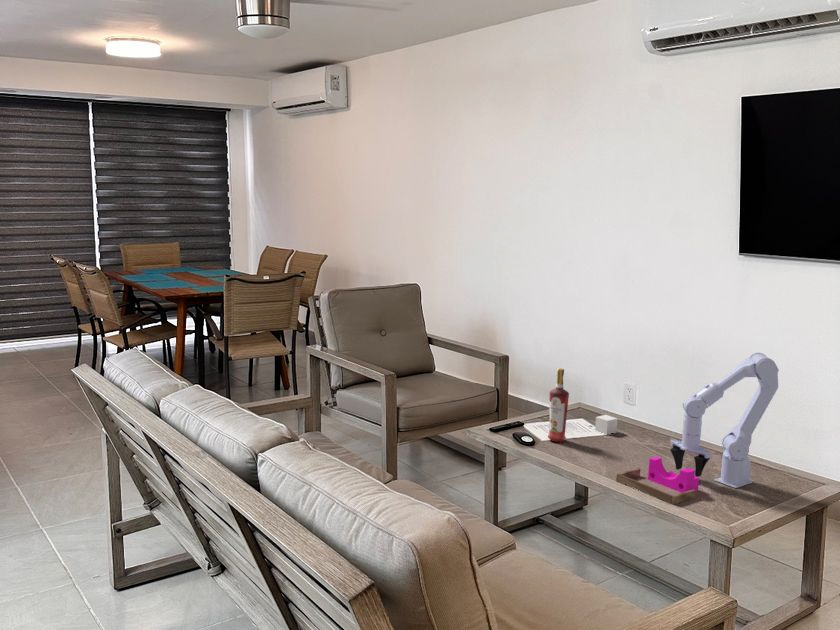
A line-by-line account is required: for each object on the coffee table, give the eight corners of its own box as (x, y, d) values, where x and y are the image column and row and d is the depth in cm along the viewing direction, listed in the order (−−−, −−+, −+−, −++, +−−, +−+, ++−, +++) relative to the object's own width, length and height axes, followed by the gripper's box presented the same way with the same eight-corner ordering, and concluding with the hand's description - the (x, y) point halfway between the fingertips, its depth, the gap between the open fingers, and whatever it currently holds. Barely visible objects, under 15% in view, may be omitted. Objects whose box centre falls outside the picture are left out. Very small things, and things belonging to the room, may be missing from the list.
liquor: (544, 441, 293) (547, 369, 288) (550, 436, 299) (554, 366, 294) (562, 444, 289) (566, 372, 285) (569, 439, 295) (573, 368, 291)
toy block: (697, 491, 247) (699, 469, 246) (685, 495, 243) (687, 472, 242) (659, 476, 259) (661, 455, 258) (647, 480, 255) (649, 458, 254)
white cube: (616, 433, 306) (617, 418, 305) (606, 435, 302) (607, 420, 301) (604, 429, 310) (605, 414, 309) (594, 431, 307) (595, 416, 306)
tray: (638, 475, 259) (638, 468, 259) (695, 497, 241) (695, 490, 240) (616, 481, 253) (616, 473, 253) (672, 504, 235) (673, 497, 234)
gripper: (665, 429, 257) (662, 467, 260) (702, 441, 246) (699, 481, 248) (679, 426, 261) (676, 464, 264) (716, 437, 250) (712, 477, 252)
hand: (688, 472), depth 256 cm, fingers open, 7 cm apart
